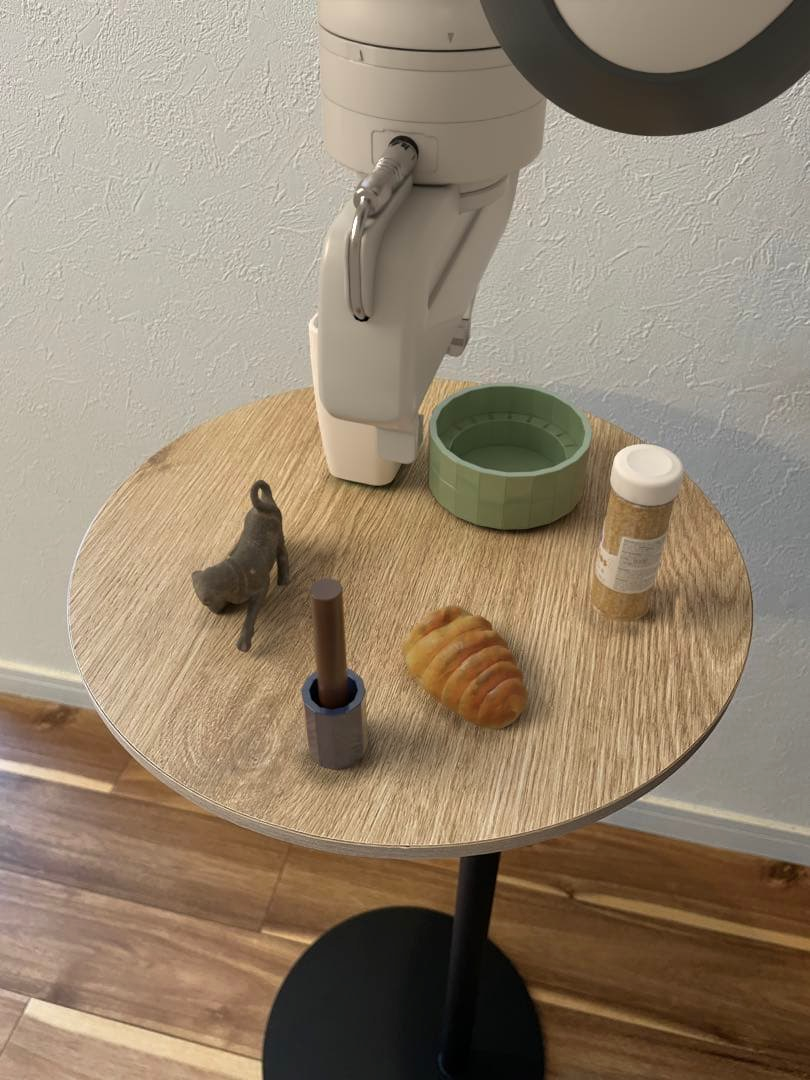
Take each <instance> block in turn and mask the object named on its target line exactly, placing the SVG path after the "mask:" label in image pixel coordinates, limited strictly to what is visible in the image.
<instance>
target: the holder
mask: <svg viewBox="0 0 810 1080" xmlns="http://www.w3.org/2000/svg"><path fill="white" fill-rule="evenodd" d="M347 675H348V692H349V704H348V705H347V706H345V707H343V708H338V709H333V710H331V709H327V708H322V707H320V702H319V691H318V680H317V670H315V671H314V672H312V673H311V674H310V675H308V676H307V677H306V679H305V680H304V683H303V685H302V687H301V690H300V694H301V702H302V703H301V704H302V713H303V721H304V730H305V739H306V740H305V741H306V747H307V751H308V756H309V757H310V758H311V759H312V761H313V762H314V763H315V764H317V765H318V766H320V767H321V768H324V769H328V770H344V769H348V768H350V767H353V766H355V765H356V764H357V763H358V762H359V761H361V760H362V758H364V756H365V754H366V752H367V748H368V746H369V738H368V736H369V735H368V717H367V716H368V712H367V690H366V686H365V682H364V680H363V678H362V677H361V676H360V675H359V674H358V673H356V672H355V671H354V670H353V669H351V668H348V667H347Z"/></svg>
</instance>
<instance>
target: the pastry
mask: <svg viewBox="0 0 810 1080" xmlns="http://www.w3.org/2000/svg"><path fill="white" fill-rule="evenodd" d="M401 653H402V657H403V660H404V663H405V664H406V667H407V671H408V673H409V675H410V676H411V678H412V680H413V681H414V682H415V683H416V684H417V686H418V687H420V688H421V689H422V690H423V691H425V692H426V693H427V694H428V695H430V696H431V697H432V698H433V699H435V701H437V702H438V703H439V704H441V705H442V706H444V707H446V708H447V709H448V710H450V711H451V712H453V713H455V714H456V715H457V716H459V717H461V718H462V719H463V720H465V721H467V722H469V723H470V724H472V725H475V726H478V727H482V728H486V729H489V730H502V729H504V728H505V727H507V726H510V725H512V724H513V723H515V722H516V721H517V720H518V718H519V717H520V715H521V714H522V712H523V711H524V710H525V708H526V705H527V701H528V697H529V692H528V689H527V688H526V685H525V682H524V679H523V671H522V670H521V669H520V668H519V667H518V666H517V661H516V659H515V658H516V657H515V656H514V654H513V652H512V651H511V650H510V648H509V646H508V643H507V642H506V640H504V639H503V637H502V636H501V635H500V634H499V633H498V632H497V631H495V630H493V625H492V623H491V622H490V621H489V620H488V619H486V618H485V617H484V616H482V615H480V614H476V615H473V613H472V612H470V611H468V610H466V609H465V608H463V607H462V606H461V605H458V604H450V605H446V606H443V607H440V608H438V609H436V610H433V611H431V612H429V613H428V614H427V615H426V616H425V617H424V618H423V619H422V620H421V621H419V622H417V623H416V625H415V626H413V628H412V629H411V630H410V632H409V634H408V635H407V637H406V639H405V640H404V642H403V644H402V646H401Z"/></svg>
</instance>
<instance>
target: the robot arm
mask: <svg viewBox="0 0 810 1080" xmlns="http://www.w3.org/2000/svg"><path fill="white" fill-rule="evenodd" d="M316 18H317V19H316V22H317V23H316V24H317V37H318V39H317V40H318V56H319V57H318V58H319V76H320V78H319V79H320V102H321V121H322V122H321V124H322V140H323V141H322V143H323V146H324V149H325V151H326V153H327V154H328V155H329V156H330V158H332V159H333V160H334V161H335V162H336V163H338V164H340V165H341V166H343V167H344V168H346V169H349V170H351V171H354V173H355V187H356V188H355V190H354V193H353V195H352V197H350V199H349V200H348V202H347V203H346V204H345V205H344V206H343V207H342V209H341V210H340V211H339V213H338V214H337V215H336V216H335V217H334V219H333V221H332V222H331V224H330V226H329V228H328V230H327V232H326V235H325V238H324V241H323V245H322V249H321V255H320V262H319V273H318V285H317V286H318V288H317V289H318V291H317V292H318V293H317V312H318V385H319V396H320V400H321V402H322V404H323V406H324V408H325V409H326V410H327V412H328V413H329V414H330V415H331V416H332V417H334V418H337V419H340V420H344V421H349V422H354V423H360V424H365V425H371V426H375V428H376V449H377V453H378V455H379V457H381V458H382V459H384V460H387V461H392V462H398V463H402V464H405V465H408V464H411V463H414V461H415V460H416V457H417V456H418V453H419V451H420V448H421V446H422V444H423V442H424V433H423V432H424V416H425V415H424V414H419V410H420V408H421V406H422V404H423V401H424V400H425V397H426V396H427V393H428V391H429V389H430V387H431V384H432V383H433V381H434V378H435V376H436V374H437V372H438V370H439V368H440V366H441V364H442V362H443V360H444V359H445V358H444V357H445V356H446V355H447V356H449V357H453V358H458V357H460V356H462V355H463V353H464V351H465V349H466V347H467V346H468V343H469V341H470V339H471V329H472V327H471V326H472V314H473V310H474V306H475V302H476V297H477V292H478V288H479V285H480V283H481V281H482V279H483V276H484V275H485V272H486V271H487V268H488V267H489V264H490V262H491V260H492V258H493V256H494V254H495V252H496V250H497V248H498V245H499V243H500V241H501V239H502V237H503V236H504V233H505V232H506V229H507V227H508V224H509V221H510V217H511V214H512V210H513V206H514V203H515V197H516V193H517V188H518V182H519V176H520V171H521V170H522V169H524V168H526V167H527V166H529V165H530V164H532V163H533V162H534V161H535V160H536V159H537V158H538V157H539V155H540V154H541V152H542V149H543V146H544V145H543V144H544V134H545V124H546V123H545V122H546V114H547V102H551V103H552V104H553V105H555V106H556V107H558V108H560V109H561V110H562V111H564V112H566V113H567V114H569V115H571V116H573V117H575V118H577V119H578V120H581V121H583V122H585V123H588V124H590V125H592V126H595V127H598V128H601V129H604V130H607V131H611V132H615V133H619V134H625V135H632V136H640V137H672V136H673V137H674V136H684V135H690V134H695V133H699V132H700V133H701V132H704V131H705V132H706V131H708V130H711V129H715V128H717V127H721V126H725V125H727V124H729V123H732V122H735V121H736V120H739V119H741V118H744V117H745V116H747V115H749V114H752V113H753V112H755V111H757V110H759V109H760V108H763V107H764V106H766V105H767V104H769V103H770V102H772V101H773V100H775V99H777V98H778V97H779V96H781V95H782V94H784V93H785V92H787V91H788V90H789V89H790V88H791V87H793V86H794V85H795V84H796V83H798V82H800V80H801V79H802V78H803V77H805V76H806V75H807V74H808V73H809V72H810V0H317V3H316Z"/></svg>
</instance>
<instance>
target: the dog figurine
mask: <svg viewBox="0 0 810 1080" xmlns="http://www.w3.org/2000/svg"><path fill="white" fill-rule="evenodd" d="M259 490H260V492H261V495H260V497H259ZM249 492H250V493H249V498H250V501H251V504H252V506H251V508H250V509H249V510H248V511H247V513H246V515H245V517H244V521H243V529H242V532H241V535H240V537H239V539H238V540H237V542H236V543H235V544H234V546H233V548H232V549H231V551H230V552H229V553H228V557H229V558H225V559H224V560H221V562H219V563H216V564H214V565H212V566H208V567H206V568H205V569H204V570H194V571H193V572H192V573H191V581H192V586H193V589H194V593H195V595H196V598H198V600H199V601H200V603H201V605H203V606H204V607H207V609H208V610H209V612H210V613H211V614H215V615H217V614H220V613H221V612H223V610H224V609H225V608H226V607H227V606H228V605H229V604H230V603H232V604H234V605H239V604H243V603H245V602H247V601H248V605H247V611H246V615H245V620H244V622H243V625H242V628H241V632H240V636H239V638H238V639H237V641H236V645H235V647H236V649H237V650H238V651H240V652H242V653H248V652H250V651H251V649H252V645H253V644H252V639H253V637H254V636H255V625H256V621H257V619H258V616H259V614H260V611H261V608H262V606H263V604H264V602H265V600H266V598H267V595H268V593H269V589H270V586H271V576H270V573H271V572H272V570H273V569H274V566H275V562H276V571H277V573H276V574H277V581H276V585H277V587H284V586H288V585H289V584H290V577H289V575H290V567H289V553H288V550H287V548H286V543H285V541H286V540H285V535H284V529H283V528H284V527H283V513H282V511H281V509H280V508H279V506H278V505H277V503H276V501H275V500H274V497H273V492H272V487H271V486H270V485H269V483H267V481H265V480H264V479H258V480H256V481H255V482H254V483H253V484H252V486H251V488H250V491H249Z"/></svg>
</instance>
